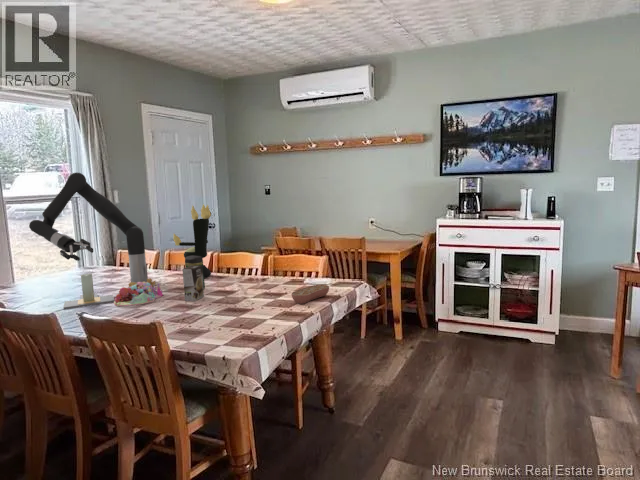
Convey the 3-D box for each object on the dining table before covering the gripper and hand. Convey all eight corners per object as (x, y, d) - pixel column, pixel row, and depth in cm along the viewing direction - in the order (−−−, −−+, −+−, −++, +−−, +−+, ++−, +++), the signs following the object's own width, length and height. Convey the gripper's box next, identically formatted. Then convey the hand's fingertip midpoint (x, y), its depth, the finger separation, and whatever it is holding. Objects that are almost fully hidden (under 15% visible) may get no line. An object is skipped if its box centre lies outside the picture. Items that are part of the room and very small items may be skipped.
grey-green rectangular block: (94, 298, 229) (92, 273, 227) (94, 300, 224) (92, 275, 223) (83, 299, 226) (80, 274, 225) (83, 302, 222) (80, 276, 220)
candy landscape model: (112, 297, 236) (111, 280, 235) (160, 291, 246) (158, 274, 245) (114, 308, 214) (112, 289, 213) (166, 301, 224) (164, 283, 223)
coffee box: (196, 301, 220) (193, 268, 218) (184, 301, 222) (181, 268, 220) (204, 296, 229) (202, 265, 227) (193, 296, 231) (190, 265, 228)
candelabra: (200, 272, 291) (195, 202, 285) (224, 275, 278) (219, 202, 272) (175, 278, 276) (169, 204, 270) (199, 282, 263) (193, 204, 257)
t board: (111, 292, 245) (111, 290, 245) (114, 302, 225) (113, 299, 225) (65, 299, 235) (65, 296, 235) (63, 309, 215) (63, 307, 215)
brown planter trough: (303, 307, 203) (302, 296, 202) (286, 304, 209) (286, 293, 208) (333, 295, 221) (332, 285, 220) (317, 293, 227) (317, 283, 226)
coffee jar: (207, 288, 246) (205, 255, 243) (196, 291, 239) (193, 257, 237) (196, 286, 251) (193, 253, 249) (184, 289, 245) (181, 256, 243)
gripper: (49, 242, 230) (73, 256, 227) (73, 229, 241) (96, 243, 238) (51, 253, 235) (75, 267, 231) (74, 240, 246) (97, 253, 242)
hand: (86, 255), depth 234 cm, fingers open, 8 cm apart
